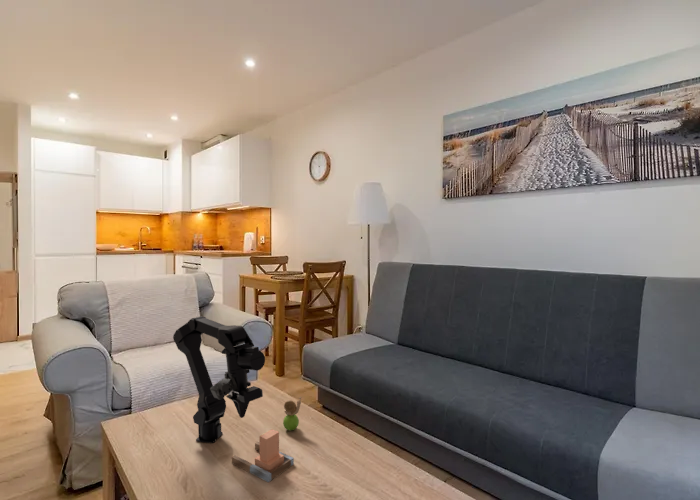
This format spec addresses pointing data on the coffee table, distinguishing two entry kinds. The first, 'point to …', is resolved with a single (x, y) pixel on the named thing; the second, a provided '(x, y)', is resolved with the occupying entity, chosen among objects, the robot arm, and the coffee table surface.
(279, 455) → the block
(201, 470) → the coffee table surface
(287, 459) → the beam slot
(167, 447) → the coffee table surface
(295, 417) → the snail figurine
